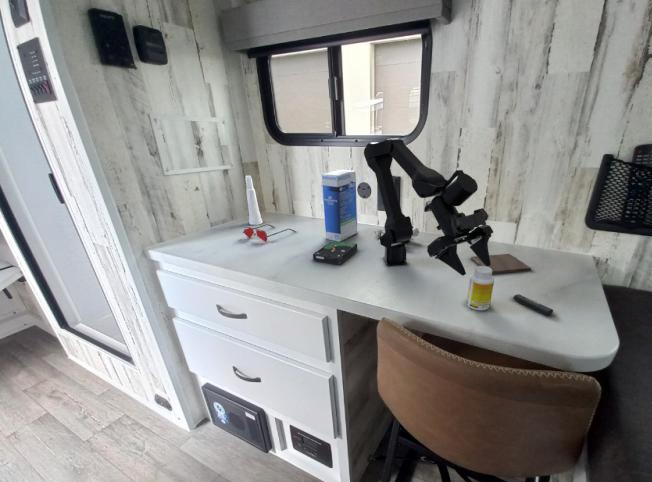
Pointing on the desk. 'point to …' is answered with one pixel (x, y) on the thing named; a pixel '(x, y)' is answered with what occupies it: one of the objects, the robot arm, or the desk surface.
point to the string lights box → (340, 204)
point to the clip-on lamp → (415, 233)
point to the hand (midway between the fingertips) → (477, 270)
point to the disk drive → (335, 252)
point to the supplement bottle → (480, 288)
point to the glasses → (260, 232)
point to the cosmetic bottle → (252, 203)
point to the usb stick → (533, 304)
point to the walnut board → (503, 264)
